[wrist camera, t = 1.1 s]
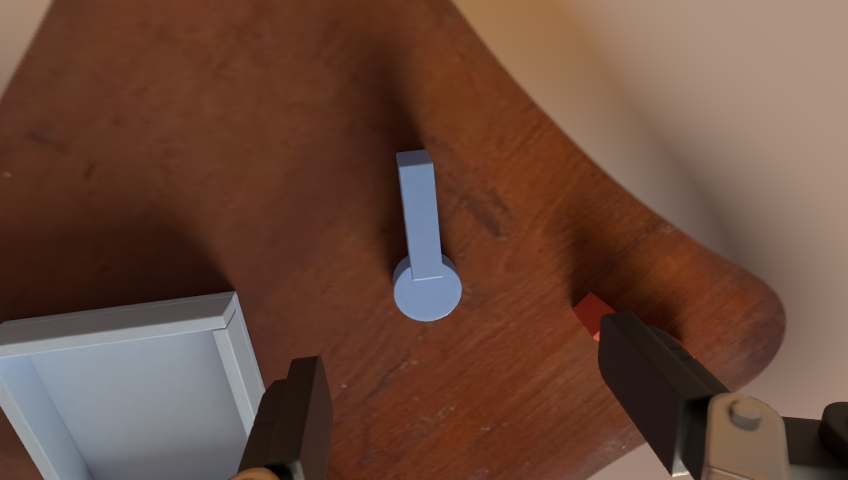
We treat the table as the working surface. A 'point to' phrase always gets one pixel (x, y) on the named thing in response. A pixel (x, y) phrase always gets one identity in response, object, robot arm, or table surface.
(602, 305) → the red disc with bar
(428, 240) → the blue spoon
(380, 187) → the table surface
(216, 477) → the blue tray
